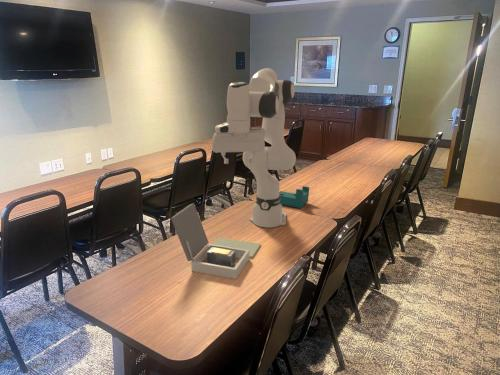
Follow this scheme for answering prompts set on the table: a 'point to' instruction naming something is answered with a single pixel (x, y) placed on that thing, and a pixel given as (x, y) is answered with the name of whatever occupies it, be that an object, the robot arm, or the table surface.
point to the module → (221, 257)
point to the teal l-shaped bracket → (295, 197)
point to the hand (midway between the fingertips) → (238, 163)
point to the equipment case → (217, 269)
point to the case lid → (190, 230)
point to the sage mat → (239, 245)
